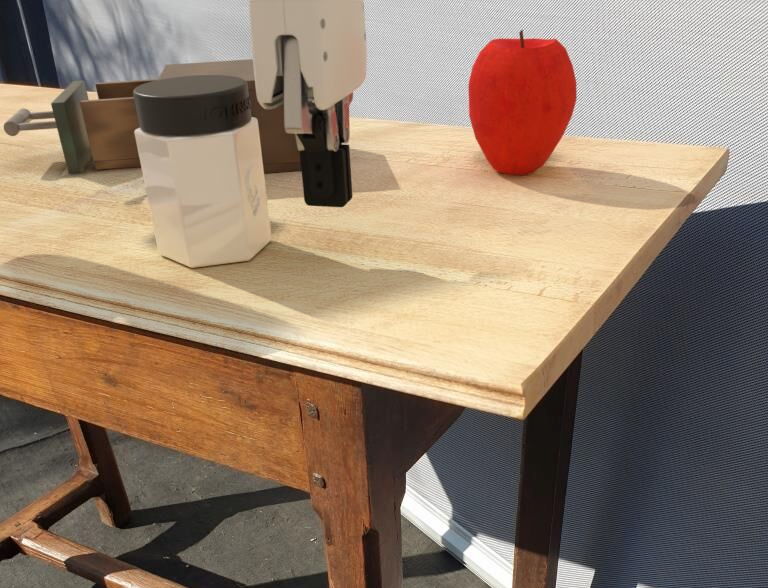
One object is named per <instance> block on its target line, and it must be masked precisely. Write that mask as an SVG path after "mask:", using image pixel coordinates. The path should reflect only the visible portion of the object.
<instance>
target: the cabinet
mask: <svg viewBox="0 0 768 588" xmlns="http://www.w3.org/2000/svg"><path fill="white" fill-rule="evenodd" d="M195 75H226V76H235V77H239V78H242V79H244V80H245V81H246V82H247V84H248V92H249V94H250V100H251V107H250V109H251V117H254V118H257V120H258V127H259V136H260V144H261V153H262V161H263V169H264V174H272V173H273V174H274V173H283V172H284V173H285V172H299V171H300V172H301V161H300V151H299V150H298V148H297V143H296V137H295V134H293V133H286V131H285V126H284V104H282V105H280V106H278V107H276V108H274V109H264V108H263V107H262V106H261V105H260V104H259V102H258V100H257V95H256V87H255V77H254V66H253V58H251V59H236V60H235V59H233V60H217V61H205V62H203V61H202V62H190V63H189V62H187V63H186V62H185V63H173V64H171V63H169V64H165V66H164V67H163V69H162V71H161V73H160V74H159V76H158V78H157V79H158V80H161V79H167V78H174V77H182V76H195Z"/></svg>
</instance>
